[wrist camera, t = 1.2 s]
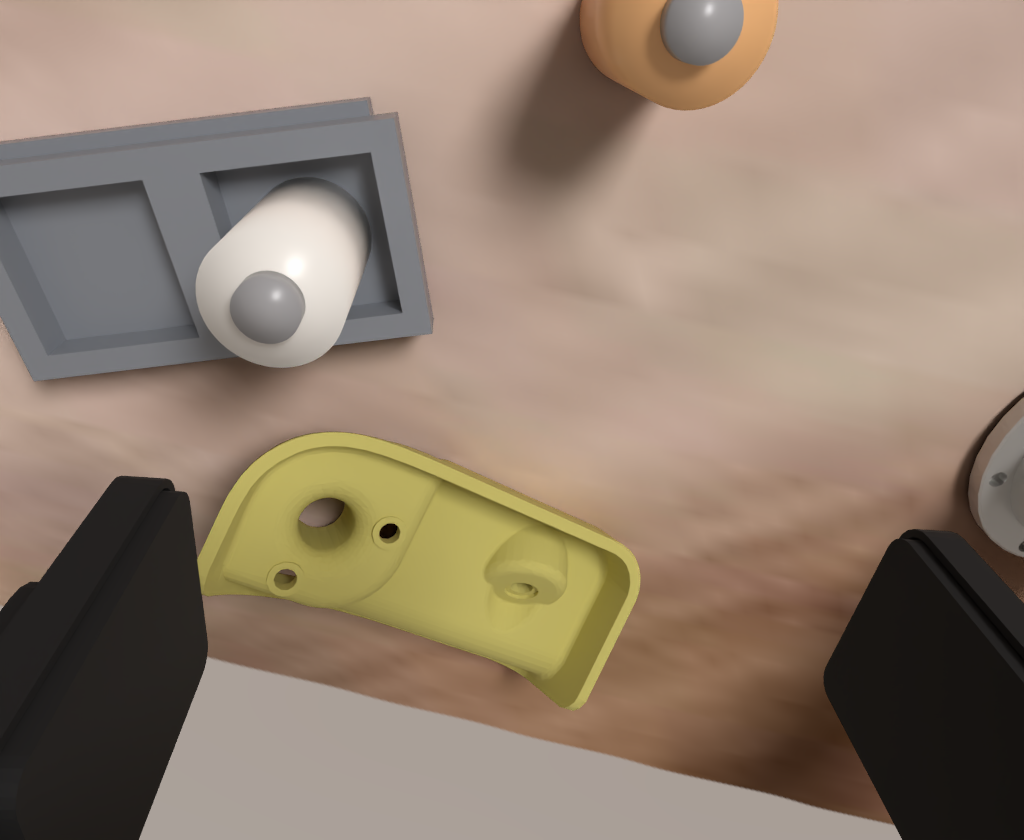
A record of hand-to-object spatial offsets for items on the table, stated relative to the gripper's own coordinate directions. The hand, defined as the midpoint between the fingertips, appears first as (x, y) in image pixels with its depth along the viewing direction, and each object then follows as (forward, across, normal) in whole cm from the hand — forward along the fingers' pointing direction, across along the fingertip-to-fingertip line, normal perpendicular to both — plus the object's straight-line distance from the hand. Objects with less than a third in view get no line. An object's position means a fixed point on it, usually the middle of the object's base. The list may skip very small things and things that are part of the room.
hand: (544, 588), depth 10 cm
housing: (+22, +11, +3) cm, 24 cm away
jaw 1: (+22, -5, -7) cm, 23 cm away
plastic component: (+22, +1, +17) cm, 28 cm away
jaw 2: (+20, +7, +2) cm, 22 cm away
